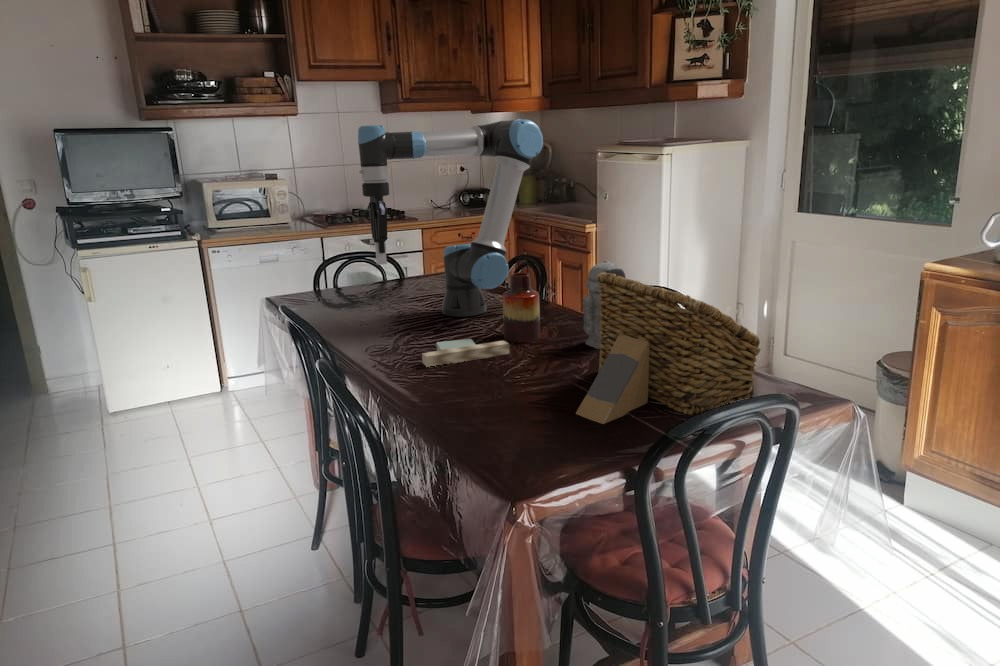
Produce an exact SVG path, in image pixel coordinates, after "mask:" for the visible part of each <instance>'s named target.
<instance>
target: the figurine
mask: <svg viewBox="0 0 1000 666" xmlns="http://www.w3.org/2000/svg"><path fill="white" fill-rule="evenodd" d="M602 272H605V273H611V274H616V275H618V276H620V277H624V278H626V274H625V271H624V270H623V268H622V267H621V266H620V264H617V263H614V262H611V261H609V260H607V259H606V260H604V261H603V262H600V263H597V264H595V265H593V266H592V267H591V268H590V269H589V272H588V276H587V281H586V284H585V288H586V289H588V294H587V295H585V296H584V297H583V299H582V307H583V308H582V309H583V326H582V329H583V330H584V332H585V334H587V335H588V338H587V339H586V340H585V345H587V346H589V347H590V348H593V347H594V349H596V350H601V349H600V344H601V339H600V338H601V337H600V335H601V334H600V333H601V332H600V329H601V327H600V321H601V319H600V314H601V309H600V307H601V306H600V299H601V298H602V297H600V293H599V291H600V290H601V289H600V288H599V286H600V282H598V281H597V275H598V274H599V273H602ZM626 279H627V278H626Z"/></svg>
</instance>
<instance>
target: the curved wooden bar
mask: <svg viewBox="0 0 1000 666" xmlns="http://www.w3.org/2000/svg"><path fill="white" fill-rule="evenodd" d="M510 353H511V352H510V343H509V341H508V342H507V340H498V341H492V342H485V343H478V344H476V345H472V346H465V347H459V348H453V349H446V350H440V351H437V350H435V351H428V352H422V353H421V358H422V365H423V364H424V365H425V366H426V367H425V366H424V365H423V366H424V367H425V368H427V367H429V368H431V367H430V366H435V367H437V366H436V365H441V366H444V365H443V364H447V365H451V364H450V363H453V364H457V363H458V362H459V363H463V362H464V361H465V362H469V361H475V360H481V359H487V358H493V357H500V356H503V355H504V356H505V355H510Z"/></svg>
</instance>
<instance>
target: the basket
mask: <svg viewBox="0 0 1000 666" xmlns="http://www.w3.org/2000/svg"><path fill="white" fill-rule="evenodd" d="M597 281H598V282H600V286H599V288H600V289H601V290H600V291H599V293H600V297H602V298H601V299H600V306H601V307H600V309H601V314H600V319H601V321H600V327H601V329H600V332H601V333H600V334H601V335H600V337H601V338H600V339H601V344H600V349H599V359H598V362H599V365H598V366H599V367H598V370H597V372H598V373H599V371H600V370H601V368H602V366H603V364H604V362H605V361H606V359H607V357H608V355H609V353H610V351H611V349H612V347H613V345H614V343H615V341H616V339H617V337H618V336H619V335H622V336H626V337H631V338H635V339H639V340H643V341H647V342H649V376H648V398H651V399H652V400H655V401H657V402H661V404H664V405H666V406H667V407H668V408H671V409H672V410H674V411H676V412H678V413H679V412H680V413H683V414H685V415H694V414H699V413H704V412H706V411H705V410H708V409H711V408H715V407H718V406H721V405H724V404H727V403H730V402H733V401H737V400H741V399H745V398H750V397H752V398H753V397H754V395H755V388H754V386H755V384H754V382H755V376H754V373H755V372H756V368H755V367H756V366H757V365H756V362H757V356H758V355H759V353H760V352H761V349H762V348H760V347H759V346H760V338H759V337H758V335H757V334H755V333H753V332H751V331H750V329H748V328H747V327H745V326H743V325H742V324H739V323H738V322H736V321H735V319H734V318H732V316H729V315H727V314H725V313H723V312H722V311H720V309H718V308H717V307H715V306H714V305H711V304H708V303H706V302H704V301H702V300H699V299H696V298H693V297H691V296H690V295H689V294H686V295H685V294H683V293H681V292H678V291H673V290H669V289H665V288H664V287H658V286H652V285H648V284H646V283H643V282H640V281H637V280H634V279H629V278H624V277H620V276H618V275H616V274H611V273H605V272H602V273H599V274H598V275H597ZM681 306H682V307H681ZM598 373H597V374H598ZM750 399H751V398H750ZM724 406H725V405H724ZM703 411H704V412H703Z"/></svg>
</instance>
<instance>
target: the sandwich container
mask: <svg viewBox="0 0 1000 666" xmlns="http://www.w3.org/2000/svg"><path fill="white" fill-rule="evenodd" d="M648 376H649V342H647V341H643V340H639V339H635V338H631V337H626V336H622V335H619V336H618V337H617V339H616V341H615V343H614V345H613V347H612V349H611V351H610V353H609V355H608V357H607V359H606V361H605V362H604V364H603V366H602V368H601V370H600V371H599V373H597V375H596V377H595V378H594V381H593V382H592V384H591V386H590V388H589V389H588V391H587V393H586V395H585V397H584V398H583V400H582V402H581V403H580V405H579V406H578V408H577V410H576V412H575V414H576V415H578V416H579V417H582V418H585V419H588V420H590V421H593V422H597V423H599V424H602V425H604V424H605V425H606V424H607V423H610V422H611V421H614V420H617V419H619V418H623V417H625V416H626V415H628V414H630V413H631V411H633V410H635V409H637V408H640V407H642V406H644V405H646V404H648V402H649V401H648V399H649V396H648Z"/></svg>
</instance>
